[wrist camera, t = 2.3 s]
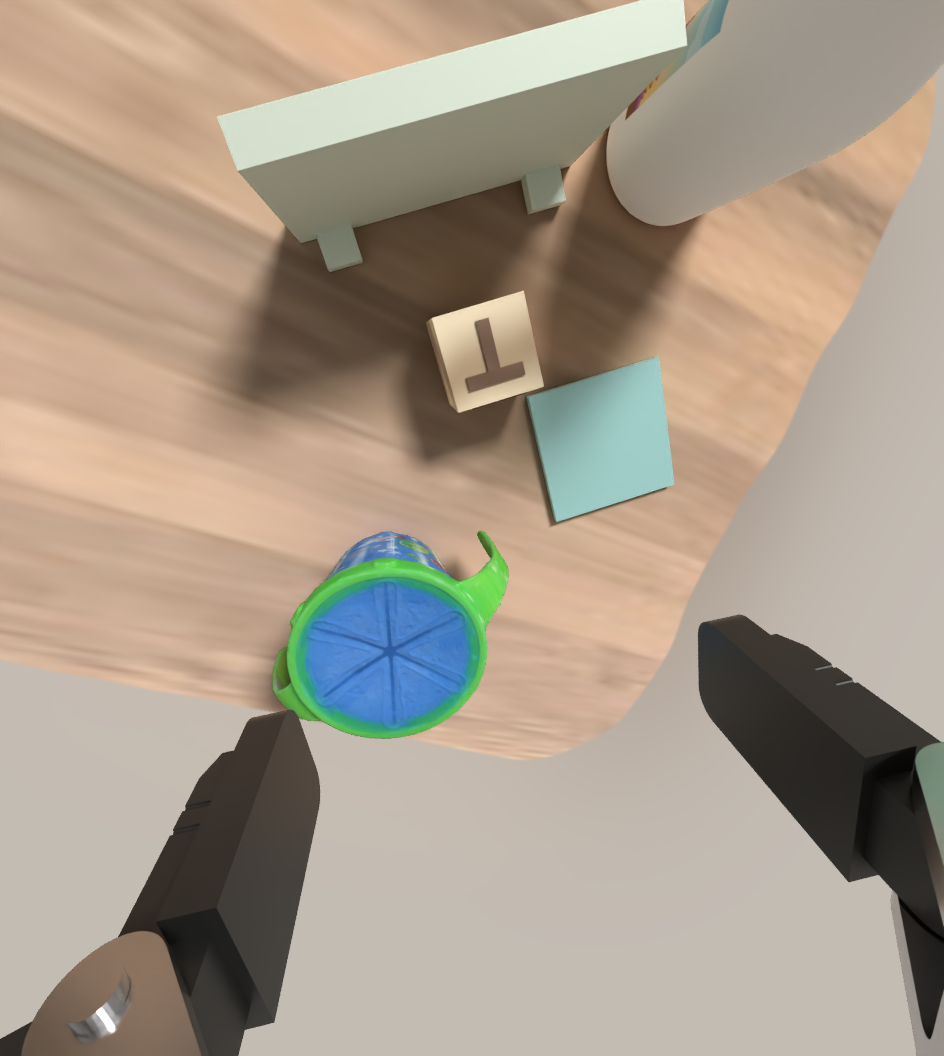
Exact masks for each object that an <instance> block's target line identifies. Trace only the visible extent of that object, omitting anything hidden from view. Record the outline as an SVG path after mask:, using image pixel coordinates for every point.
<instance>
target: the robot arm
mask: <svg viewBox="0 0 944 1056" xmlns="http://www.w3.org/2000/svg"><path fill="white" fill-rule="evenodd" d="M698 661H699V662H698V664H699V665H698V667H699V691H700V696H701V700H702V703H703V705H704V707H705V709H706V712H707V713H708V715H709V717H710V718H711V719H712V721H713V722H714V723H715V724H716V726H717V727H718V728H719V729H720V730H721V731H722V733H723V734H724V735H725V736H726V737H727V738H728V740H729V741H730V742H731V743H732V744H733V746H734V747H735V748H736V749H737V750H738V752H739V753H740V754H741V755H742V756H743V757H744V759H745V760H746V761H747V762H748V763H749V765H750V766H751V767H752V768H753V769H754V771H755V772H756V773H757V774H758V775H759V776H760V778H761V779H762V780H763V781H764V782H765V784H766V785H767V786H768V787H769V788H770V789H771V791H772V792H773V793H774V794H775V795H776V797H777V798H778V799H779V800H780V801H781V803H782V804H783V805H784V806H785V807H786V808H787V810H788V811H789V812H790V813H791V814H792V815H793V817H794V818H795V819H796V820H797V821H798V823H799V824H800V825H801V826H802V827H803V829H804V830H805V831H806V832H807V833H808V835H809V836H810V837H811V838H812V839H813V841H814V842H815V843H816V844H817V845H818V846H819V848H820V849H821V850H822V851H823V852H824V854H825V855H826V856H827V857H828V858H829V860H830V861H831V862H832V863H833V864H834V865H835V867H836V868H837V869H838V870H839V871H840V873H841V874H842V875H843V876H844V877H845V878H846V880H847V881H848V882H852V881H855V880H860V879H863V878H868V877H871V876H875V875H879V876H880V877H881V878H882V879H883V880H884V881H885V882H886V883H887V884H888V885H889V887H890V888H891V889H892V895H891V910H892V916H893V921H894V927H895V933H896V939H897V944H898V950H899V955H900V961H901V967H902V973H903V978H904V984H905V990H906V996H907V1001H908V1007H909V1013H910V1018H911V1024H912V1030H913V1036H914V1041H915V1047H916V1055H917V1056H944V742H940V741H939V740H938V739H936V738H935V737H933V736H932V735H931V734H929V733H928V732H926V731H925V730H924V729H922V728H921V727H919V726H918V725H916V724H915V723H914V722H912V721H911V720H910V719H908V718H907V717H905V716H904V715H903V714H901V713H900V712H898V711H897V710H896V709H894V708H893V707H891V706H890V705H889V704H887V703H886V702H884V701H883V700H881V699H880V698H879V697H877V696H876V695H875V694H873V693H872V692H870V691H869V690H868V689H866V688H865V687H863V686H862V685H861V684H859V683H854V682H853V680H852V678H851V677H849V676H848V675H847V674H845V673H844V672H842V671H841V670H840V669H838V668H833V667H832V664H831V663H830V662H828V661H827V660H825V659H824V658H823V657H821V656H820V655H818V654H817V653H816V652H814V651H813V650H812V649H810V648H809V647H807V646H805V645H803V644H800V643H797V642H795V641H793V640H790V639H788V638H785V637H783V636H780V635H778V634H774V635H770V634H768V633H767V632H766V631H764V630H763V629H762V628H760V627H759V626H758V625H756V624H755V623H754V622H752V621H751V620H750V619H748V618H747V617H745V616H743V615H735V616H731V617H726V618H722V619H717V620H712V621H707V622H703V623H701V625H700V626H699V630H698ZM319 804H320V785H319V777H318V772H317V769H316V766H315V763H314V760H313V758H312V755H311V752H310V749H309V746H308V743H307V740H306V738H305V735H304V732H303V729H302V726H301V723H300V721H299V718H298V716H297V714H296V712H295V711H294V710H286V711H282V712H277V713H272V714H268V715H263V716H258V717H254V718H251V719H249V721H248V722H247V724H246V726H245V728H244V730H243V732H242V734H241V737H240V739H239V741H238V743H237V745H236V747H235V750H234V751H230V752H226V753H222V754H221V755H220V756H219V757H218V759H217V760H216V761H215V762H214V763H213V764H212V765H211V766H210V767H209V768H208V770H207V771H206V772H205V773H204V774H203V775H202V776H201V777H200V778H199V780H198V782H197V784H196V786H195V788H194V790H193V792H192V794H191V796H190V798H189V800H188V802H187V803H186V805H185V807H186V810H185V811H183V812H182V813H181V815H180V817H179V819H178V821H177V823H176V825H175V827H174V829H173V831H174V833H173V835H171V836H170V837H169V839H168V841H167V843H166V845H165V847H164V848H163V850H162V852H161V854H160V856H159V858H158V860H157V862H156V864H155V866H154V868H153V870H152V872H151V874H150V876H149V878H148V880H147V882H146V884H145V886H144V888H143V890H142V892H141V893H140V895H139V897H138V899H137V901H136V903H135V905H134V907H133V909H132V911H131V913H130V915H129V917H128V919H127V921H126V923H125V925H124V927H123V929H122V931H121V933H120V935H119V936H118V938H116V939H113V940H112V941H110V942H108V943H106V944H104V945H103V946H101V947H100V948H98V949H97V950H95V951H94V952H92V953H91V954H90V955H88V956H87V957H86V958H85V959H83V960H82V961H81V962H80V963H79V964H77V965H76V966H75V967H74V968H73V969H72V970H71V971H70V972H69V973H68V974H67V975H66V976H65V977H64V978H63V979H62V980H61V982H60V983H59V984H58V985H57V986H56V987H55V989H54V990H53V991H52V992H51V994H50V995H49V996H48V997H47V999H46V1000H45V1002H44V1003H43V1005H42V1006H41V1008H40V1009H39V1011H38V1012H37V1014H36V1016H35V1018H34V1020H33V1021H32V1022H30V1023H29V1024H27V1025H25V1026H23V1027H21V1028H19V1029H18V1030H16V1031H14V1032H12V1033H10V1034H9V1035H7V1036H5V1037H3V1038H1V1039H0V1056H238V1055H239V1050H240V1047H241V1042H242V1039H243V1035H244V1031H245V1030H246V1029H250V1028H254V1027H258V1026H262V1025H266V1024H270V1023H274V1021H275V1016H276V1011H277V1006H278V1002H279V997H280V992H281V987H282V982H283V978H284V973H285V968H286V963H287V959H288V953H289V949H290V944H291V939H292V934H293V930H294V925H295V920H296V915H297V910H298V906H299V901H300V896H301V892H302V887H303V882H304V877H305V872H306V867H307V862H308V858H309V853H310V848H311V843H312V838H313V834H314V829H315V824H316V819H317V814H318V810H319Z"/></svg>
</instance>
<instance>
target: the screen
mask: <svg viewBox="0 0 944 1056" xmlns="http://www.w3.org/2000/svg"><path fill="white" fill-rule="evenodd" d="M686 46H687V37H686V25H685V13H684V1H683V0H641V1H637V2H633V3H630V4H626V5H623V6H619V7H615V8H612V9H608V10H604V11H601V12H597V13H593V14H590V15H586V16H582V17H579V18H575V19H571V20H568V21H564V22H560V23H557V24H553V25H550V26H546V27H542V28H539V29H535V30H531V31H528V32H524V33H520V34H517V35H513V36H509V37H506V38H502V39H498V40H495V41H491V42H487V43H484V44H480V45H476V46H473V47H469V48H466V49H462V50H458V51H455V52H451V53H447V54H444V55H440V56H436V57H433V58H429V59H425V60H422V61H418V62H414V63H411V64H407V65H403V66H400V67H396V68H393V69H389V70H385V71H382V72H378V73H374V74H371V75H367V76H363V77H360V78H356V79H352V80H349V81H345V82H341V83H338V84H334V85H330V86H327V87H323V88H319V89H316V90H312V91H309V92H305V93H301V94H298V95H294V96H290V97H287V98H283V99H279V100H276V101H272V102H268V103H265V104H261V105H257V106H254V107H250V108H246V109H243V110H239V111H235V112H232V113H228V114H225V115H221V116H217V118H218V121H219V123H220V126H221V129H222V131H223V134H224V137H225V139H226V142H227V144H228V147H229V150H230V152H231V155H232V157H233V160H234V163H235V165H236V168H237V171H238V172H239V173H240V174H241V175H242V176H243V178H244V179H245V180H246V181H247V182H248V183H249V184H250V186H251V187H252V188H253V189H254V190H255V191H256V192H257V194H258V195H259V196H260V197H261V198H262V199H263V200H264V202H265V203H266V204H267V205H268V206H269V207H270V208H271V210H272V211H273V212H274V213H275V214H276V215H277V217H278V218H279V219H280V220H281V221H282V222H283V223H284V225H285V226H286V227H287V228H288V229H289V230H290V231H291V233H292V234H293V235H294V236H295V237H296V238H297V239H298V241H299V242H300V243H304V242H308V241H311V240H315V239H317V240H318V243H319V246H320V249H321V252H322V255H323V257H324V260H325V263H326V266H327V269H328V271H329V272H332V271H336V270H339V269H343V268H346V267H350V266H353V265H357V264H360V263H363V260H362V257H361V253H360V250H359V247H358V244H357V241H356V238H355V235H354V232H353V228H356V227H360V226H363V225H367V224H370V223H374V222H377V221H381V220H384V219H388V218H391V217H395V216H398V215H402V214H405V213H409V212H412V211H416V210H419V209H422V208H426V207H429V206H433V205H436V204H440V203H443V202H447V201H450V200H454V199H457V198H461V197H464V196H468V195H471V194H475V193H478V192H482V191H485V190H489V189H492V188H496V187H499V186H503V185H506V184H510V183H513V182H516V181H520V180H521V182H522V187H523V193H524V198H525V203H526V208H527V213H528V215H529V214H532V213H535V212H539V211H542V210H546V209H549V208H553V207H556V206H560V205H561V204H562V203H563V202H565V201H566V199H565V193H564V187H563V181H562V175H561V170H560V169H562V168H565V167H569V166H571V165H572V164H573V163H574V162H575V161H576V160H577V159H578V158H579V157H580V156H581V155H582V154H583V153H584V152H585V151H586V149H587V148H588V147H589V146H590V145H591V144H592V143H593V142H594V141H595V140H596V139H597V138H598V137H599V136H600V135H601V134H602V133H603V132H604V131H605V130H606V129H607V128H608V127H609V126H610V125H611V124H612V123H613V122H614V120H615V119H616V118H617V117H618V116H619V115H620V114H621V113H622V112H623V111H624V110H625V109H626V108H627V107H628V106H629V105H630V104H631V103H632V102H633V101H634V100H635V99H636V98H637V97H638V96H639V95H640V94H641V93H642V92H643V90H644V89H645V88H646V87H647V86H648V85H649V84H650V83H651V82H652V81H653V80H654V79H655V78H656V77H657V76H658V75H659V74H660V73H661V72H662V71H663V70H664V69H665V68H666V67H667V66H668V65H669V64H670V63H671V61H672V60H673V59H674V58H675V57H676V56H677V55H678V54H679V53H680V52H681V51H682V50H683V49H684V48H685V47H686Z"/></svg>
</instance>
